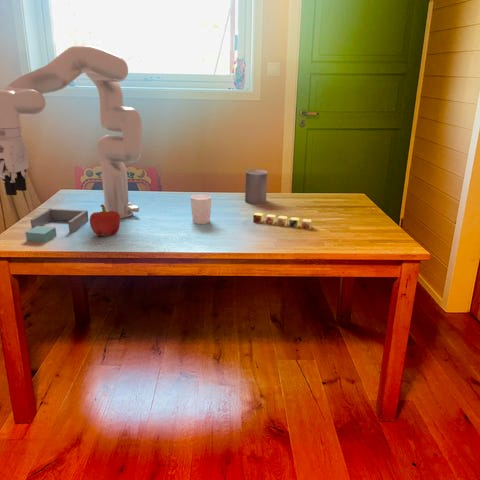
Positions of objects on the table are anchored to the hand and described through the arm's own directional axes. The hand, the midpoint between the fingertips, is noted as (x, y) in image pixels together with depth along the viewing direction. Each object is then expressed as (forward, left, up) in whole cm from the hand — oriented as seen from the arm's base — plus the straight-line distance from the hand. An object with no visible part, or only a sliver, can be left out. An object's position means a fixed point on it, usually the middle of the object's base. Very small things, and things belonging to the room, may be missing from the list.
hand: (16, 192), depth 148 cm
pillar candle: (-70, -72, -20) cm, 102 cm away
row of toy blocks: (-83, -39, -20) cm, 94 cm away
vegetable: (-20, -19, -20) cm, 34 cm away
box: (0, -25, -19) cm, 32 cm away
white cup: (-51, -39, -20) cm, 67 cm away
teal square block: (0, -11, -20) cm, 23 cm away
